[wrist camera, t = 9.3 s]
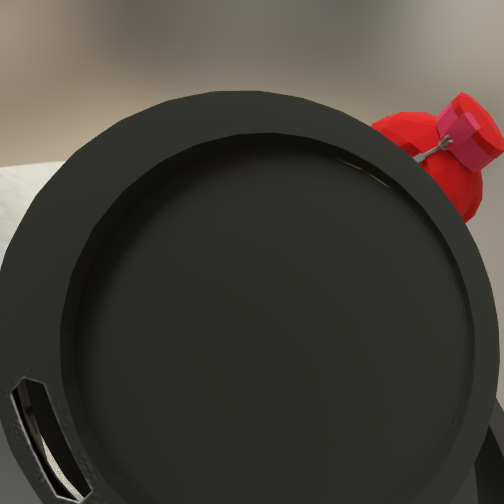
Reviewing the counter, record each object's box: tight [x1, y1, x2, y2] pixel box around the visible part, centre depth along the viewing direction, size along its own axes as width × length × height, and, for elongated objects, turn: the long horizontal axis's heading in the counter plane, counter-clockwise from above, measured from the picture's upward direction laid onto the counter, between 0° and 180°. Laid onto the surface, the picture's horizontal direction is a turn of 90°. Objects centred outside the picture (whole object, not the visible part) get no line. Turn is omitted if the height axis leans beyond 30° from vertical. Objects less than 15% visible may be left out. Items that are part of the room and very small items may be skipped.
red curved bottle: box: [370, 92, 504, 223], centre depth 23 cm, size 9×11×25 cm
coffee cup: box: [0, 91, 500, 504], centre depth 10 cm, size 10×10×15 cm
